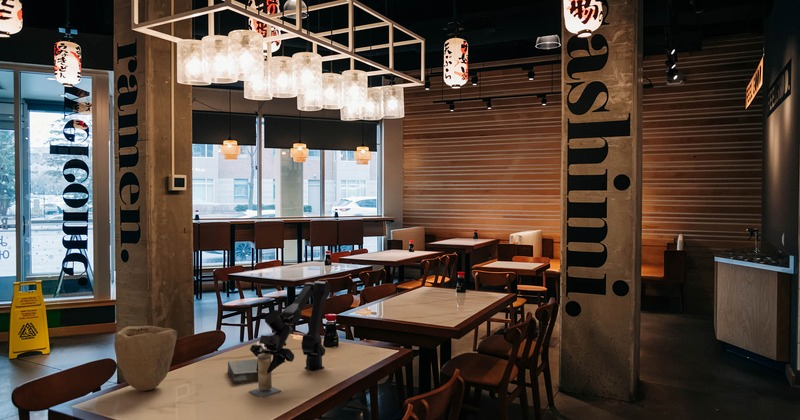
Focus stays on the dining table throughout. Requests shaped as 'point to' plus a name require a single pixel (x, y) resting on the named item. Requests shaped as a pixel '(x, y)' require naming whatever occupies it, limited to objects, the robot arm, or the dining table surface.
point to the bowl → (145, 354)
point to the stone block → (243, 371)
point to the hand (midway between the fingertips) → (262, 372)
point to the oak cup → (264, 371)
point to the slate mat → (264, 392)
